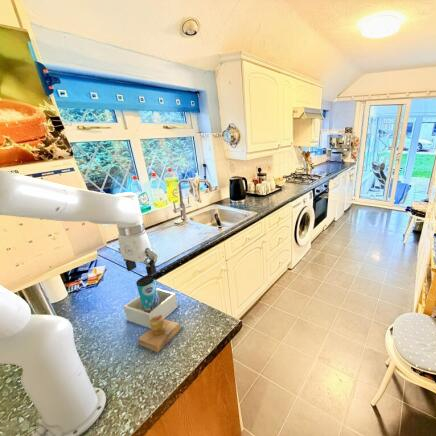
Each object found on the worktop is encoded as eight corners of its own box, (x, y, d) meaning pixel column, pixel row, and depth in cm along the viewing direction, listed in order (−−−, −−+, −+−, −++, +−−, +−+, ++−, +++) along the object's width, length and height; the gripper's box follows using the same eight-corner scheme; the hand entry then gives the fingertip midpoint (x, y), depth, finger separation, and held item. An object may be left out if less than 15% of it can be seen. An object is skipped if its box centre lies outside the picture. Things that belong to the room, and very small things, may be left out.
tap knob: (159, 336, 80) (155, 325, 78) (150, 333, 81) (146, 322, 79) (168, 328, 83) (165, 316, 82) (159, 325, 85) (156, 313, 83)
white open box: (152, 329, 87) (148, 315, 84) (127, 320, 90) (123, 306, 88) (178, 306, 98) (175, 293, 95) (154, 299, 101) (151, 286, 99)
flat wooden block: (158, 352, 78) (156, 345, 77) (139, 345, 80) (137, 338, 79) (180, 329, 87) (179, 323, 85) (163, 323, 89) (161, 317, 88)
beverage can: (147, 319, 90) (138, 287, 84) (143, 311, 94) (134, 280, 88) (163, 311, 94) (156, 280, 88) (159, 304, 98) (151, 274, 92)
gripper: (102, 229, 80) (115, 272, 86) (140, 236, 74) (151, 282, 80) (123, 222, 86) (134, 262, 92) (160, 228, 81) (168, 270, 87)
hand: (142, 271), depth 86 cm, fingers open, 9 cm apart
